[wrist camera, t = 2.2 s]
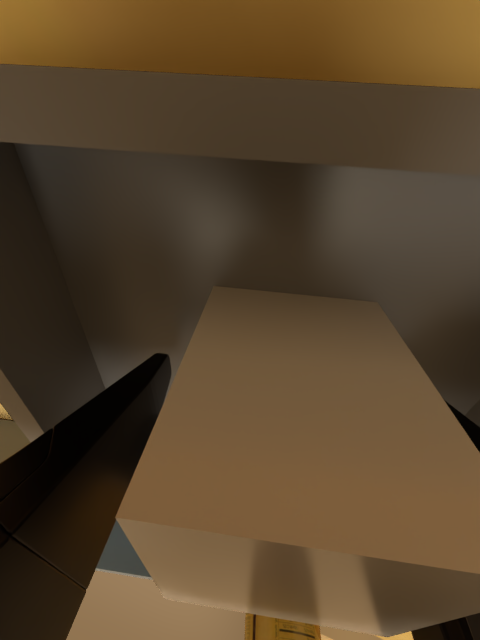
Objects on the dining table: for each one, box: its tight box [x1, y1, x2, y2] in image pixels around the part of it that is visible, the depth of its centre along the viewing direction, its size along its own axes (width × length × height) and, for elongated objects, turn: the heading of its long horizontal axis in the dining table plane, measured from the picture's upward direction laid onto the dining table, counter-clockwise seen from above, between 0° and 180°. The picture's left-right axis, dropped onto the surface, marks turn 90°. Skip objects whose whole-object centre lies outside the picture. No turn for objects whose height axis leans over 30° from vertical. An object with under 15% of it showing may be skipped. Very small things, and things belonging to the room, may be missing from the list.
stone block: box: [115, 286, 480, 637], centre depth 7 cm, size 5×5×6 cm
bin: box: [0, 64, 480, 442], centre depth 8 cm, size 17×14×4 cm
